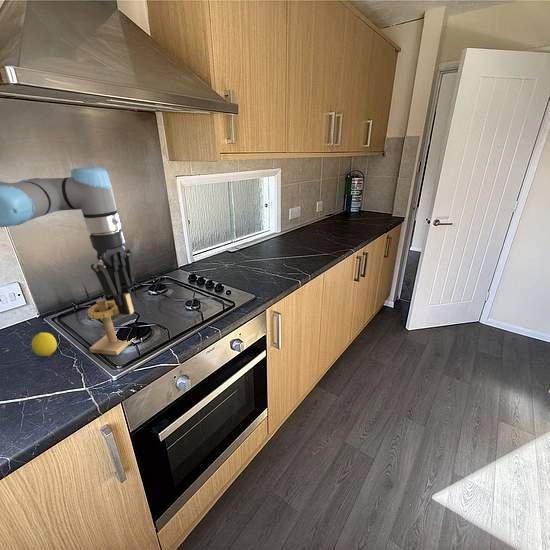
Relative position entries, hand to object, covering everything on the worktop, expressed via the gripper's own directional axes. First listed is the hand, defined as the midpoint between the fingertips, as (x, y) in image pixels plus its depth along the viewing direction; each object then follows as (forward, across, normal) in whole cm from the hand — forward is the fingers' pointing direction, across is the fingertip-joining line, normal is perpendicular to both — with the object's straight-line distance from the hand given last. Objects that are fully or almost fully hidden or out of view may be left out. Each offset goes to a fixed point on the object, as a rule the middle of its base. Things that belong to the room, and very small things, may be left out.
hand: (127, 311), depth 84 cm
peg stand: (+12, 0, +8) cm, 14 cm away
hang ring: (0, 0, +5) cm, 5 cm away
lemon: (+12, -8, +23) cm, 28 cm away
